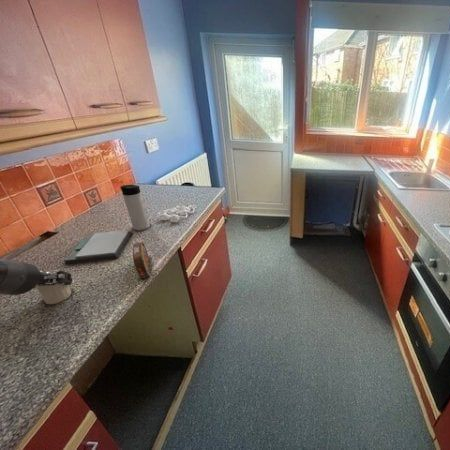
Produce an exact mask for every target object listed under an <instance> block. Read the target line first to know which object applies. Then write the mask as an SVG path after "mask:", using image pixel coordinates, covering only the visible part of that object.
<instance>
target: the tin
mask: <svg viewBox="0 0 450 450" xmlns="http://www.w3.org/2000/svg"><path fill="white" fill-rule="evenodd" d="M144 243H145V242H144V241H140V242H137V243H134V244H133V246H132V259H133V264H134V267H135V270H136V271H137V273H138V276H139V278H140V279H144V278H148V277H151V275H150V274H149V260H150V258H149V257H150V256H149V253H148V251H147V248H146V246H145V244H144Z"/></svg>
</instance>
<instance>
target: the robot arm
mask: <svg viewBox="0 0 450 450" xmlns="http://www.w3.org/2000/svg"><path fill="white" fill-rule="evenodd" d="M48 282H49V284H46V283H48ZM72 283H73V277H72V273H71V272H67V271H63V270H59V271H57V274H56V273H50V272H47V271H44V270H40V269H39V268H38V267H37V266H36V265H34V264H32V263H29V262H23V261H18V260H12V259H8V258H0V295H5V296H19V295H23V294H26V293H28V292H30V291H31V290H33V289H36V290H37V288H36V287H42V286H54V285H56V284H60V285H68V286H71V285H72Z"/></svg>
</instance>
